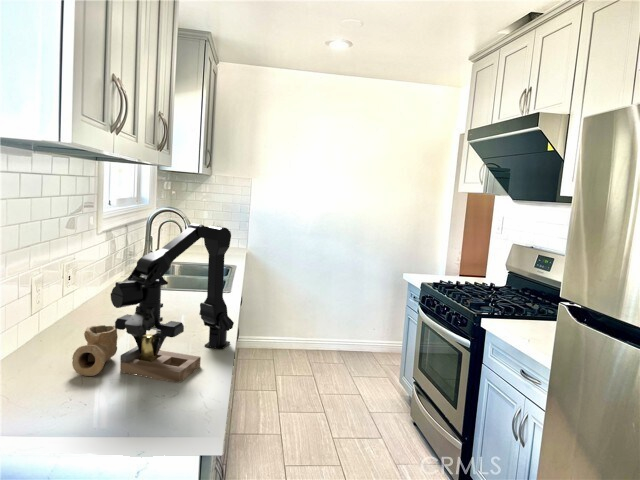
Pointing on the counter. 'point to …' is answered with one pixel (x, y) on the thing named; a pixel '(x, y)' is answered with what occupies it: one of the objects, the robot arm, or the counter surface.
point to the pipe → (95, 350)
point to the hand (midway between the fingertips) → (148, 354)
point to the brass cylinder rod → (147, 348)
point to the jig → (160, 365)
